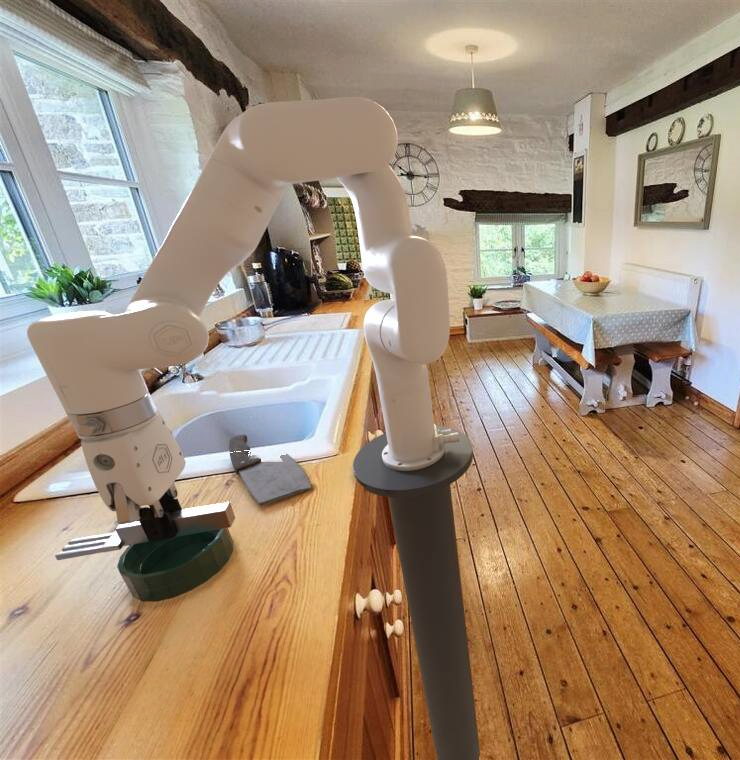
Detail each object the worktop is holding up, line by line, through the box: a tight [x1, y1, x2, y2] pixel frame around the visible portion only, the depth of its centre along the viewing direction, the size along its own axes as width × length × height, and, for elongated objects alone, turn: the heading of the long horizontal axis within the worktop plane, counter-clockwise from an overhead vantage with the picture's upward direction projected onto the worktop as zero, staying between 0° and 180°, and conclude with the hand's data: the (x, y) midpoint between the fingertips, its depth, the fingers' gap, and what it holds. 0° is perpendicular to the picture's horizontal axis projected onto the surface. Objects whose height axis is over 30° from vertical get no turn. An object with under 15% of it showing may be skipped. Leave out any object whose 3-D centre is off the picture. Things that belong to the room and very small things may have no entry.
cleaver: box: [228, 434, 312, 507], centre depth 83 cm, size 29×10×2 cm, turn 45°
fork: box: [54, 501, 236, 561], centre depth 56 cm, size 20×3×3 cm, turn 105°
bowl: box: [116, 528, 235, 603], centre depth 59 cm, size 12×12×5 cm
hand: (168, 530), depth 57 cm, fingers closed on fork, 2 cm apart
